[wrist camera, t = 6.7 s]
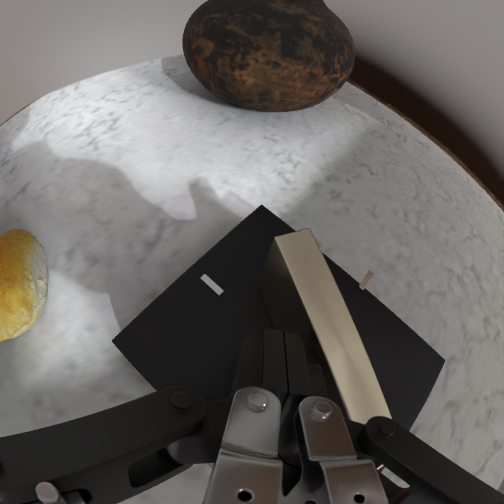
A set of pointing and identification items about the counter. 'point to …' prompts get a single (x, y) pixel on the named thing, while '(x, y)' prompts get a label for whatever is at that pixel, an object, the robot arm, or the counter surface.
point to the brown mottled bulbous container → (269, 52)
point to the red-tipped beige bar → (320, 322)
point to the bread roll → (21, 282)
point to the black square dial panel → (263, 325)
